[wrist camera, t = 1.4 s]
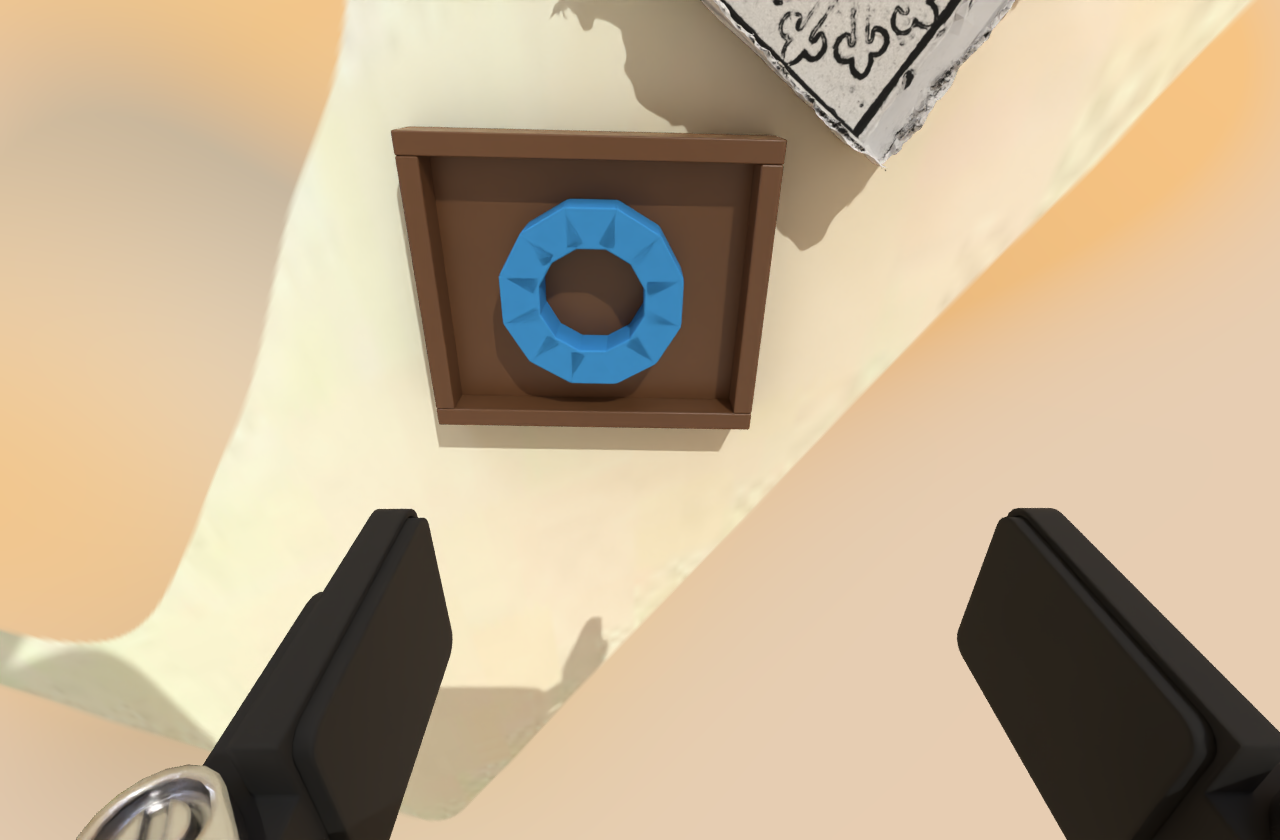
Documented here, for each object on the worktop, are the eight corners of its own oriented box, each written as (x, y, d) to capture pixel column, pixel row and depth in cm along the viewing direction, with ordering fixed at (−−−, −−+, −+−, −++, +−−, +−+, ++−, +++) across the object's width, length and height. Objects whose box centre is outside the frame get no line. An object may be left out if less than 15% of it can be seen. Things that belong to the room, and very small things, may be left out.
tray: (408, 126, 22) (389, 129, 20) (776, 135, 22) (787, 139, 21) (450, 404, 28) (438, 425, 26) (742, 409, 28) (749, 430, 26)
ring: (501, 196, 23) (491, 205, 21) (684, 200, 23) (688, 209, 21) (516, 364, 26) (508, 382, 25) (675, 367, 26) (677, 385, 25)
